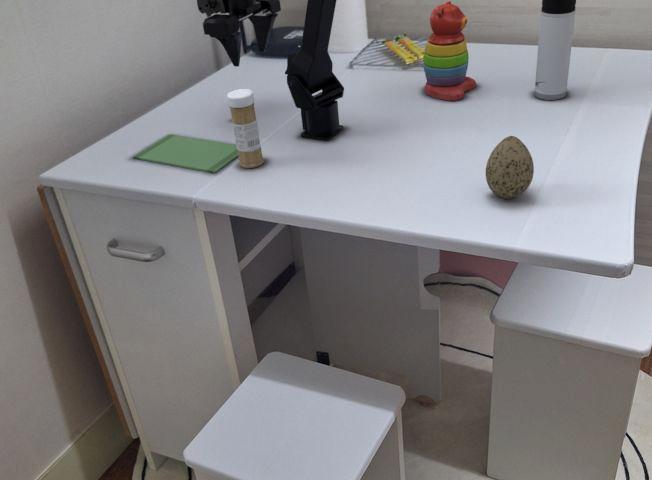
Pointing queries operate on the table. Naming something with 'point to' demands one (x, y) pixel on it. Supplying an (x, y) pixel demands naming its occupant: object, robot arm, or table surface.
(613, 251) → the table surface
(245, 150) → the sprinkles bottle
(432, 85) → the stacking bear
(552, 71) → the travel mug
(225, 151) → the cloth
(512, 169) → the decorative egg
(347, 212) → the table surface
